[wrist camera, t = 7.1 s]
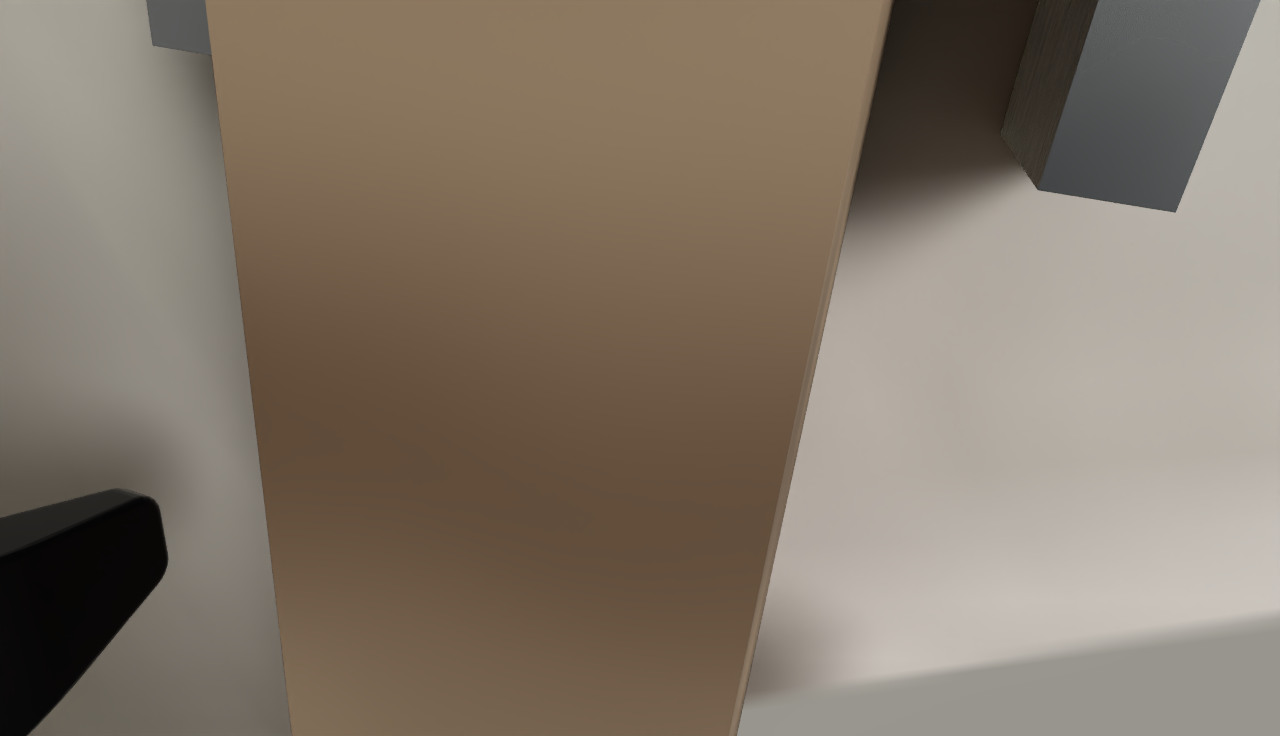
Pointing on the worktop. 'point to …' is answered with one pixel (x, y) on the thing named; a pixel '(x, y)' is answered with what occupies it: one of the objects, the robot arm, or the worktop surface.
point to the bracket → (1058, 90)
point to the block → (533, 341)
